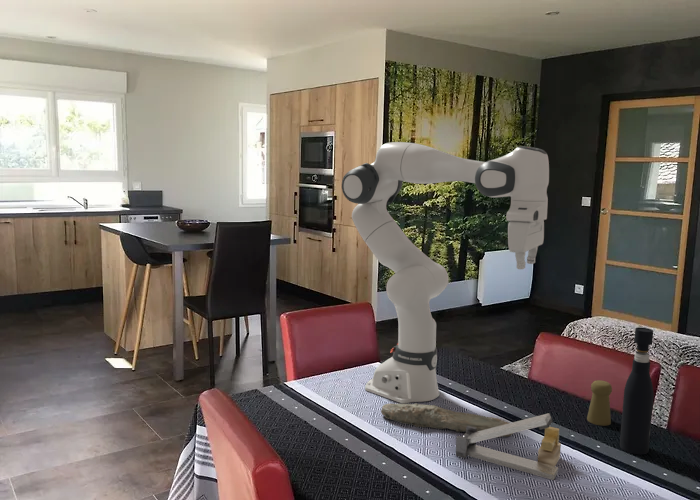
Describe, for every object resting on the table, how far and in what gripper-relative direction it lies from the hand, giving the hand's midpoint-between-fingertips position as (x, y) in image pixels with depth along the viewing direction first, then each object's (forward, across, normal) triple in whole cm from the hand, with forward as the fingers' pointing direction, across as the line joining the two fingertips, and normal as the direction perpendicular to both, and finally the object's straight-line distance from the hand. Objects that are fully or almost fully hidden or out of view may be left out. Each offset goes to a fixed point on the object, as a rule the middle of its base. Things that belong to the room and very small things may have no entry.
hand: (526, 266), depth 150 cm
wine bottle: (+43, -3, +28) cm, 51 cm away
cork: (+43, -15, +18) cm, 49 cm away
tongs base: (+43, +21, +3) cm, 48 cm away
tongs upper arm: (+36, +21, +3) cm, 42 cm away
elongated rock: (+43, +10, -17) cm, 47 cm away
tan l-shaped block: (+39, +16, +11) cm, 43 cm away
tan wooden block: (+43, +15, +11) cm, 47 cm away
